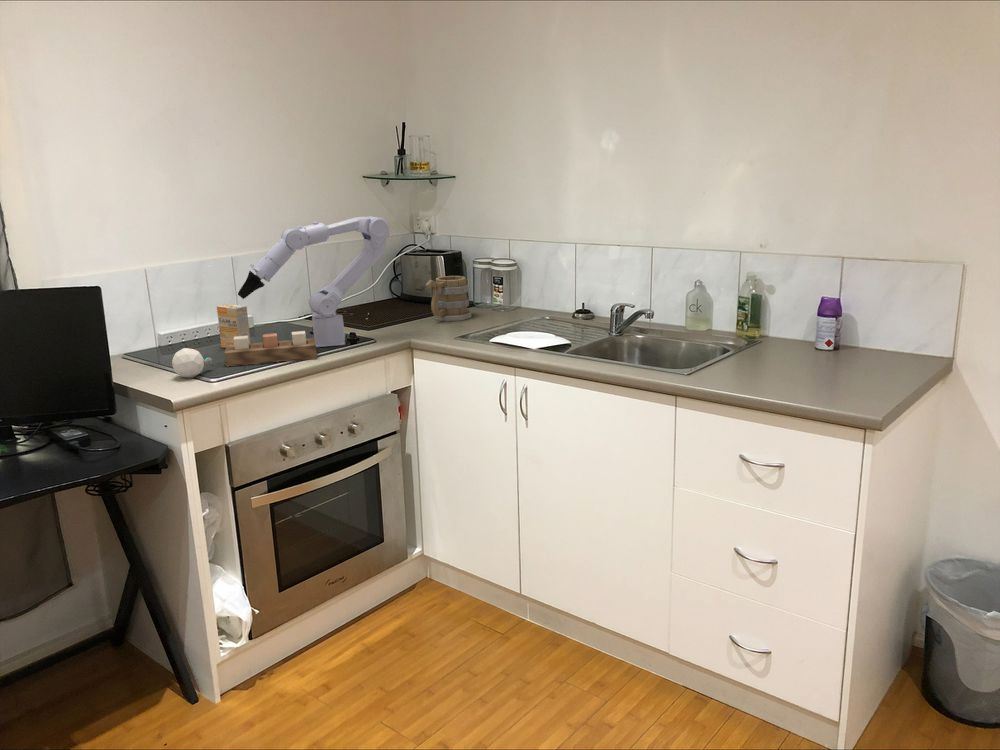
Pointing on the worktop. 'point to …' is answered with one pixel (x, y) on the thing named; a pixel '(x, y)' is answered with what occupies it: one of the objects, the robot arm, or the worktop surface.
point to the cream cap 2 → (299, 338)
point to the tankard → (449, 298)
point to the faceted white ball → (189, 362)
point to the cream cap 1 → (241, 342)
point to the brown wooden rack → (270, 353)
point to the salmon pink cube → (270, 340)
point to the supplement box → (232, 323)
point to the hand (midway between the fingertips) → (240, 296)
